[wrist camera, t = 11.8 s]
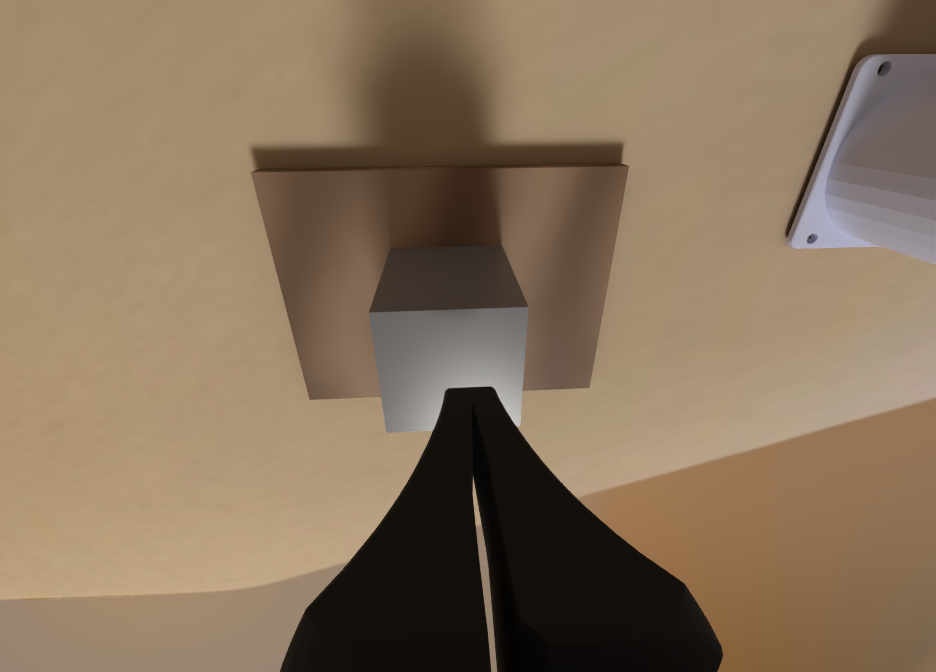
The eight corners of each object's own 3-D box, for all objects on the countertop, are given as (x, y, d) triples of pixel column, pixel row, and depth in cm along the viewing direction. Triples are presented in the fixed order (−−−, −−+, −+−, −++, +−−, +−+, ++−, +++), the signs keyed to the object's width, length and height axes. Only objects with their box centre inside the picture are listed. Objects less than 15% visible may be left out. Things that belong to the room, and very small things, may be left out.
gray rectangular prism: (502, 245, 19) (528, 306, 13) (498, 340, 22) (519, 426, 16) (390, 248, 19) (368, 312, 13) (400, 344, 21) (386, 432, 16)
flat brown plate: (621, 163, 18) (690, 187, 13) (585, 379, 24) (622, 452, 19) (258, 169, 18) (185, 197, 13) (313, 390, 24) (279, 469, 19)
